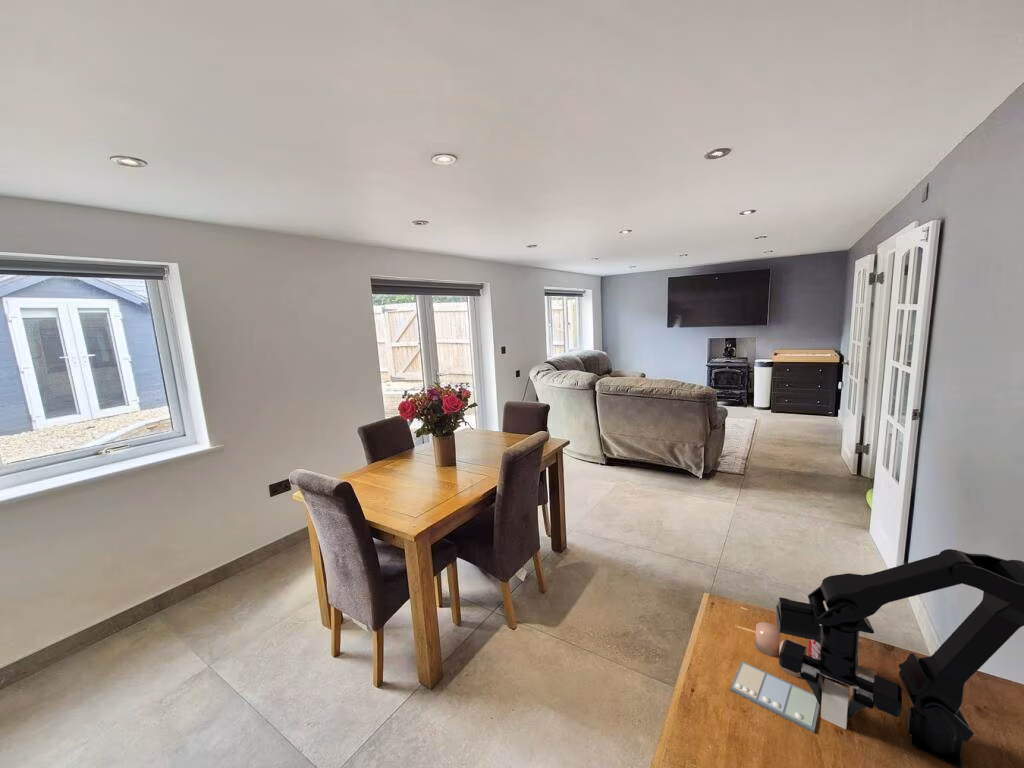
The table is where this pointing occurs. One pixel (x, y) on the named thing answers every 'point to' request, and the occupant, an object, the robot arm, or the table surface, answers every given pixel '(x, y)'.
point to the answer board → (776, 695)
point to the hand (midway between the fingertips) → (834, 710)
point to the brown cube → (865, 672)
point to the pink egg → (785, 668)
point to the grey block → (835, 703)
